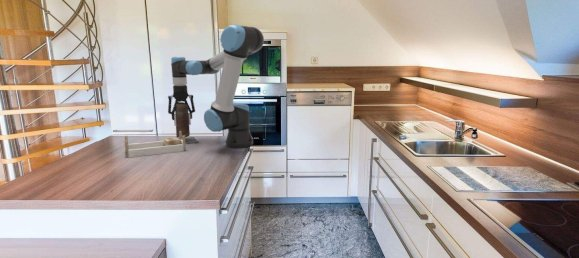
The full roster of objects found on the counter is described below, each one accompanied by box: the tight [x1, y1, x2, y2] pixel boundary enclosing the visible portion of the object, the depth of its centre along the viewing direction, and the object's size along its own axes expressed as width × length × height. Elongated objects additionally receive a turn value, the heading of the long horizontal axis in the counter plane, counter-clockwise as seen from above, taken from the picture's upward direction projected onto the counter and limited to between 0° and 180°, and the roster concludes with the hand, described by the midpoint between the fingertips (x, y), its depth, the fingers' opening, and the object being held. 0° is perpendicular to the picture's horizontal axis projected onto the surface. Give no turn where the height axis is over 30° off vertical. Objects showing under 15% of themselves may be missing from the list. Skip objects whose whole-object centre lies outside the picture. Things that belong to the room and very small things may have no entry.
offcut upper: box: [163, 136, 179, 146], centre depth 173 cm, size 6×7×3 cm
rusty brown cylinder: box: [174, 101, 191, 138], centre depth 188 cm, size 8×7×20 cm
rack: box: [124, 131, 187, 158], centre depth 170 cm, size 28×13×8 cm, turn 116°
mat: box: [176, 136, 199, 145], centre depth 190 cm, size 14×14×1 cm
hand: (182, 125), depth 188 cm, fingers closed on rusty brown cylinder, 7 cm apart
